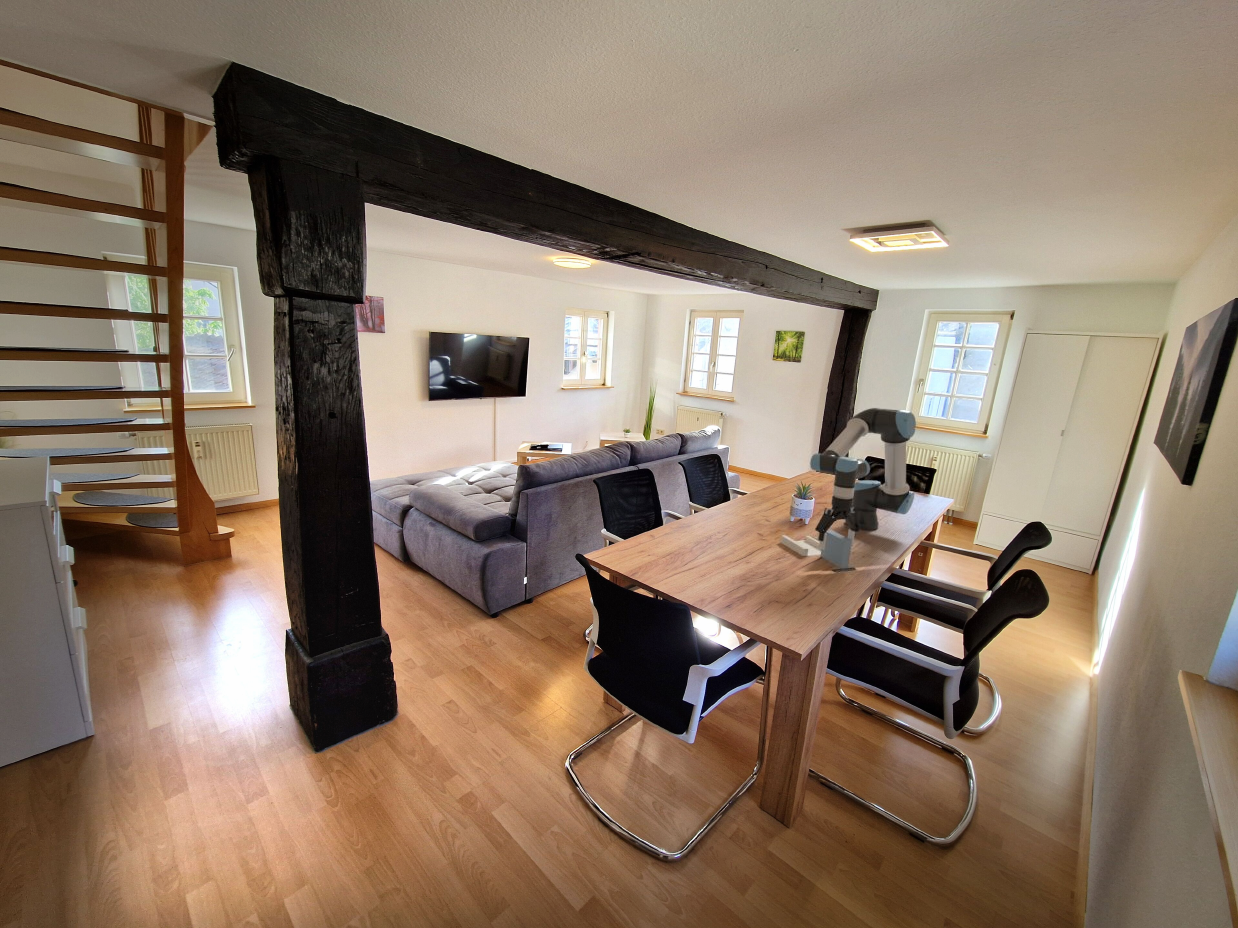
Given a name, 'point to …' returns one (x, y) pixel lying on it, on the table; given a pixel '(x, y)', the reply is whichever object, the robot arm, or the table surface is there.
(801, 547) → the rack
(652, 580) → the table surface
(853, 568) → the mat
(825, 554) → the blue-grey square block
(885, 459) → the robot arm
